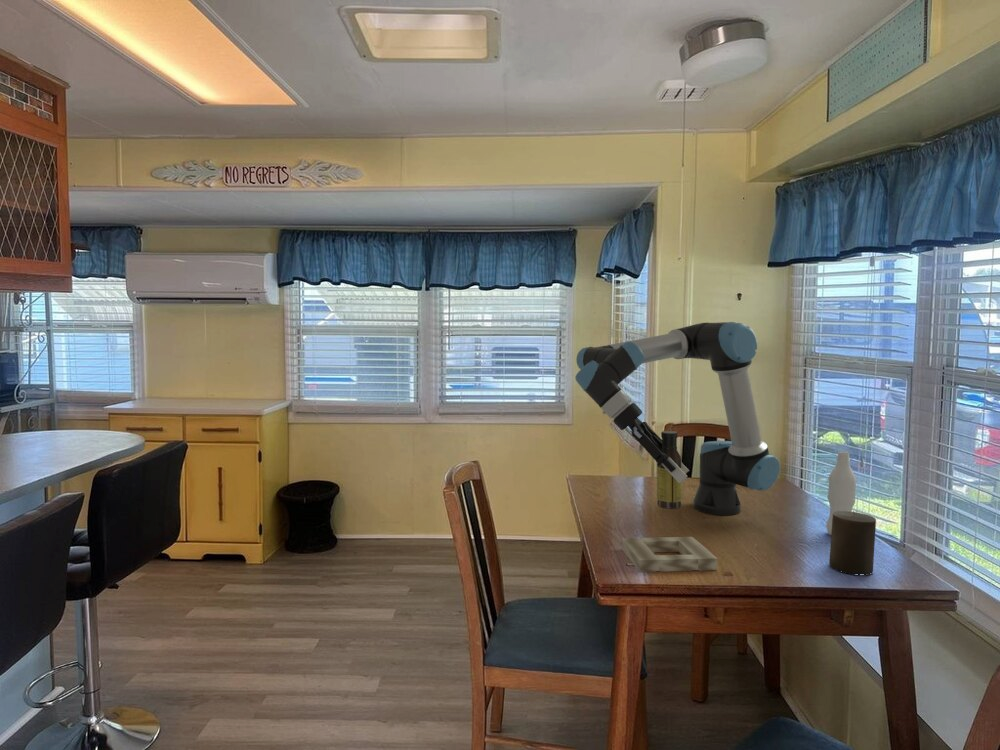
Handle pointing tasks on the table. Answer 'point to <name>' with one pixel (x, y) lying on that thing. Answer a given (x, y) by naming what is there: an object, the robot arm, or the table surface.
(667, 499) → the sauce bottle
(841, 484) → the water bottle
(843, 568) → the pillar candle
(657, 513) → the table surface
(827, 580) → the table surface
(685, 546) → the birch stand
